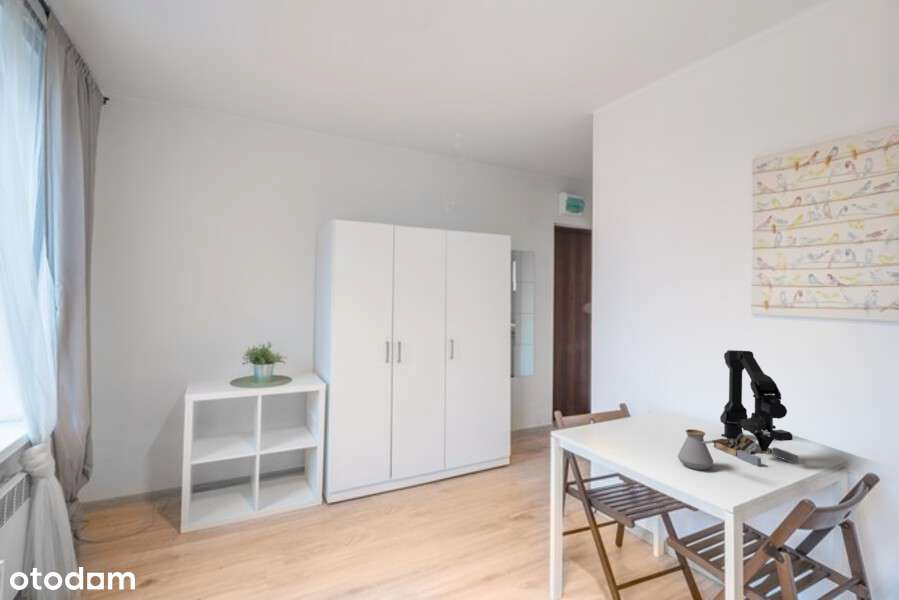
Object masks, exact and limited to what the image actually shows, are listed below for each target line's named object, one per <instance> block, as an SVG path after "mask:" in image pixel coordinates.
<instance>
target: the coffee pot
mask: <svg viewBox="0 0 899 600" xmlns="http://www.w3.org/2000/svg"><path fill="white" fill-rule="evenodd" d="M685 433H686V435H687V436H686V438H685V440H684V443H683V444H682V447H681V448H680V450H679V452H678V454H677V458H678V460H679V461H680V463H682V464H683V466H684V467H686V468H689V469H692V470H696V471H705V470H708V469H710V467H712V466H713V464H714V460H713V457H712V454H711V453H710V451H709V449H708V446H707V444H712V443H713V444H714V443H723V442H730V441H734V440H735V439H733V438H731V439H730V438H727V437H726V438H718V439H713V440H712V439H711V440H705V439H704V436H705V435H706V432H705V431H702V430H698V429H691V428H689V429H686V430H685ZM732 444H733V443H732ZM736 444H737V441H736ZM736 444H734V445H736Z"/></svg>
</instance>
